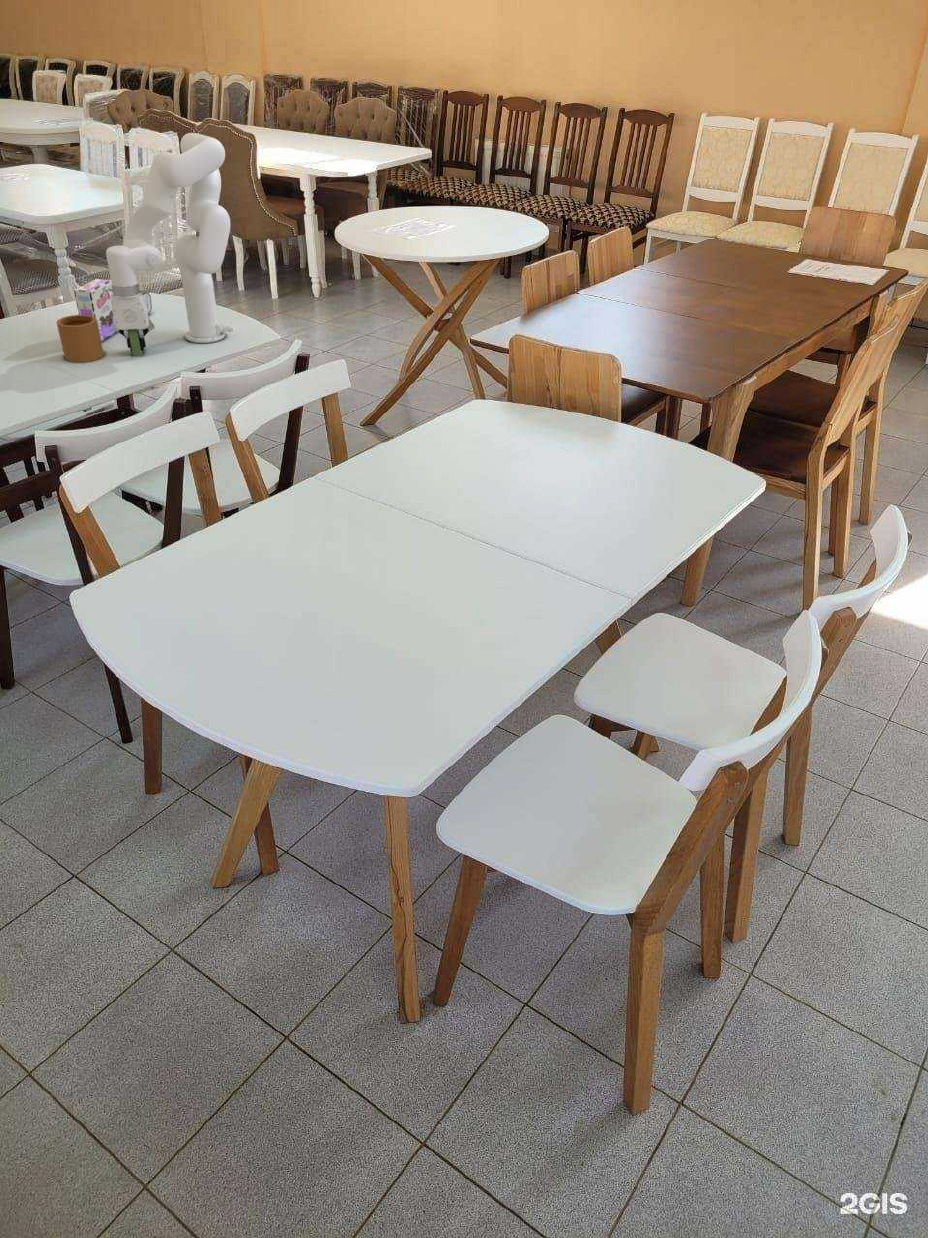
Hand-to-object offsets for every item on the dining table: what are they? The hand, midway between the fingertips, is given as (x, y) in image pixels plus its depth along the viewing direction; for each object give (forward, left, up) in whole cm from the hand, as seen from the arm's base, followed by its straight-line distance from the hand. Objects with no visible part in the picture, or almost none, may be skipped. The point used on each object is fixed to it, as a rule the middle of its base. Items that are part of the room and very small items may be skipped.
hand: (137, 349), depth 287 cm
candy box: (+13, -18, -1) cm, 22 cm away
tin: (+3, -35, -1) cm, 35 cm away
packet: (0, 0, -1) cm, 1 cm away
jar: (+16, +1, -1) cm, 16 cm away
